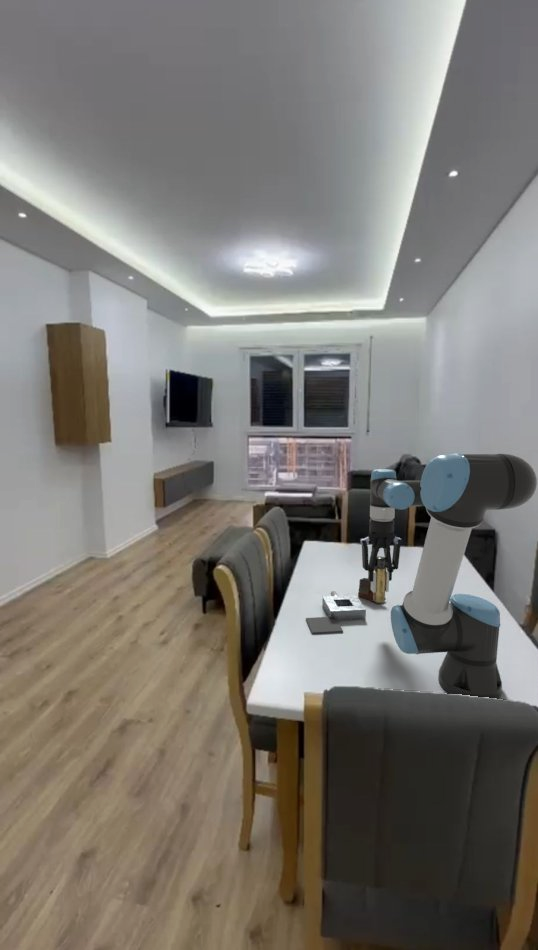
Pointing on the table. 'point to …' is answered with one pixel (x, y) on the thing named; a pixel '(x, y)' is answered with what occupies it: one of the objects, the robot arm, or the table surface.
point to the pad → (323, 625)
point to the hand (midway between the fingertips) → (379, 590)
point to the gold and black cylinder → (380, 579)
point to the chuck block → (343, 607)
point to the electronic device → (366, 590)
